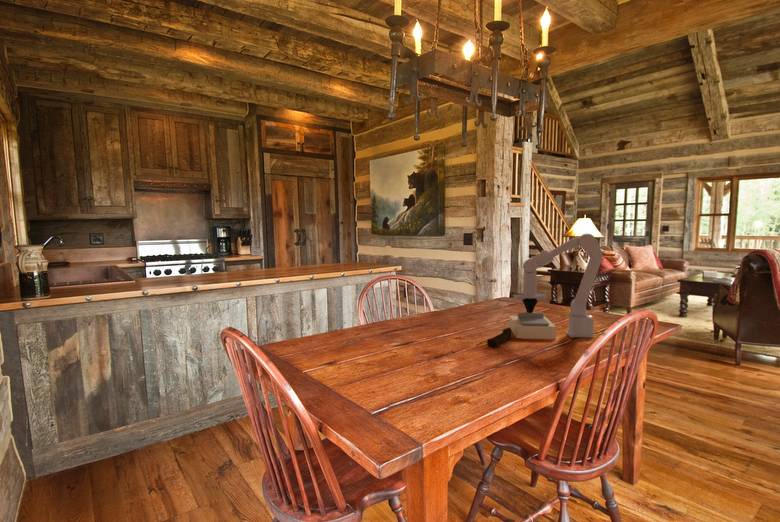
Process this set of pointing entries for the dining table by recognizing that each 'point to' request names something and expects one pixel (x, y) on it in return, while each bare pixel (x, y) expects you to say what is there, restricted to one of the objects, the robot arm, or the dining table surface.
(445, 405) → the dining table surface
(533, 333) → the housing
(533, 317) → the cover
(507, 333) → the hand tool
